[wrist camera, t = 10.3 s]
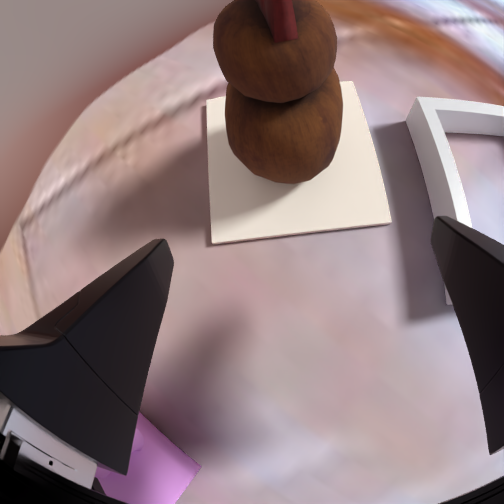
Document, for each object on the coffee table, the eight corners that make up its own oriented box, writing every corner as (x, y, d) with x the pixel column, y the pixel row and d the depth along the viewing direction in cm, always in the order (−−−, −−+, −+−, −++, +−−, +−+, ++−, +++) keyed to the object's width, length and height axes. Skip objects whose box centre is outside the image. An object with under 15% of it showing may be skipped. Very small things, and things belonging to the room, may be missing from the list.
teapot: (137, 536, 16) (85, 590, 6) (39, 437, 19) (-33, 461, 9) (258, 453, 16) (218, 559, 6) (110, 317, 19) (-6, 318, 9)
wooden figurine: (332, 205, 17) (385, -46, 2) (238, 196, 18) (97, -15, 4) (336, 113, 18) (348, -97, 3) (253, 108, 19) (186, -87, 4)
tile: (214, 244, 18) (212, 243, 18) (208, 103, 20) (206, 100, 20) (389, 224, 17) (391, 222, 16) (351, 85, 19) (352, 81, 18)
